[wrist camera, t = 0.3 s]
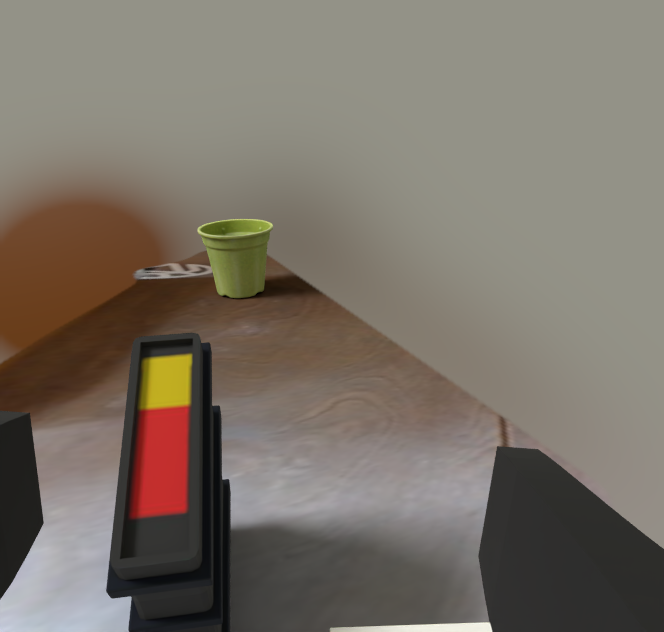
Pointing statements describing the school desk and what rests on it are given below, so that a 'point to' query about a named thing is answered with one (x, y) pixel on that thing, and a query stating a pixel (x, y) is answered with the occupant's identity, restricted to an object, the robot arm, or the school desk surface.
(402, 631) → the camera housing
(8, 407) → the school desk surface
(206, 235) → the plant pot
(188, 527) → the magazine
